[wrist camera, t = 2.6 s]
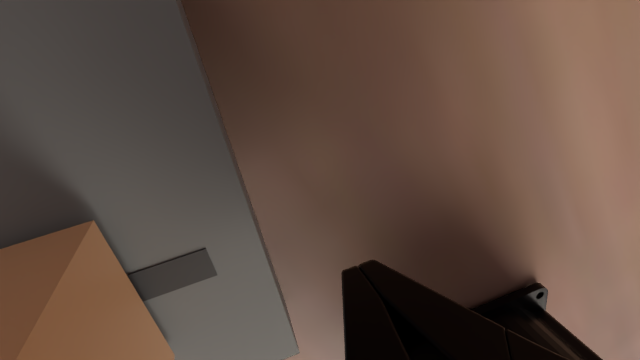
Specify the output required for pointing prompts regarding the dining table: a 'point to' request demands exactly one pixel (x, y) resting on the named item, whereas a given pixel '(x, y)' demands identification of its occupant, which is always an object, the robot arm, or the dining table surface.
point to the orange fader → (72, 302)
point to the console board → (136, 167)
